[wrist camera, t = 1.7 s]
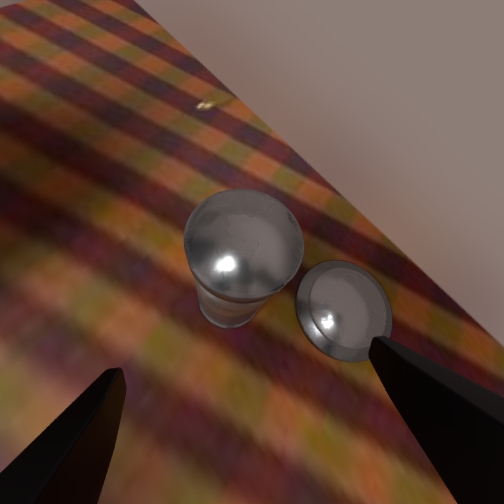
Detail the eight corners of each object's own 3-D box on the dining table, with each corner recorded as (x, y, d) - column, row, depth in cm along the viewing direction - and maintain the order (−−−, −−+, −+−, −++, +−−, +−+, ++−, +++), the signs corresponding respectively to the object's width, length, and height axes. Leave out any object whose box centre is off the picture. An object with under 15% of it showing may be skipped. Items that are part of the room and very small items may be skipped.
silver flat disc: (404, 347, 21) (414, 346, 20) (314, 374, 19) (320, 375, 18) (364, 256, 24) (371, 251, 23) (283, 271, 22) (286, 266, 21)
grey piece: (265, 321, 20) (320, 283, 10) (204, 335, 19) (193, 310, 9) (251, 265, 22) (285, 184, 12) (194, 275, 21) (176, 194, 10)
